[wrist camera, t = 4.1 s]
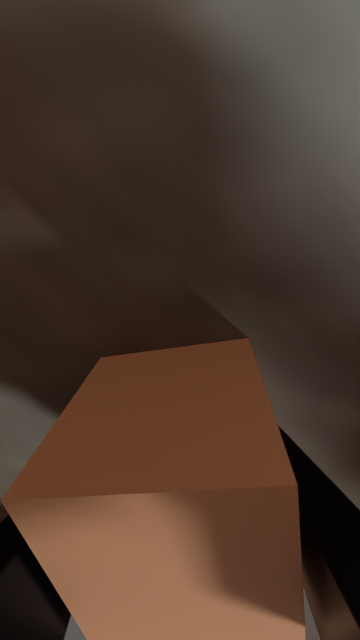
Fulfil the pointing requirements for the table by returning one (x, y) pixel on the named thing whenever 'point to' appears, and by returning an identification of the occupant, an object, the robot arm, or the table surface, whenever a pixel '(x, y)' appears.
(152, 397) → the terracotta cube
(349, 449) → the table surface
